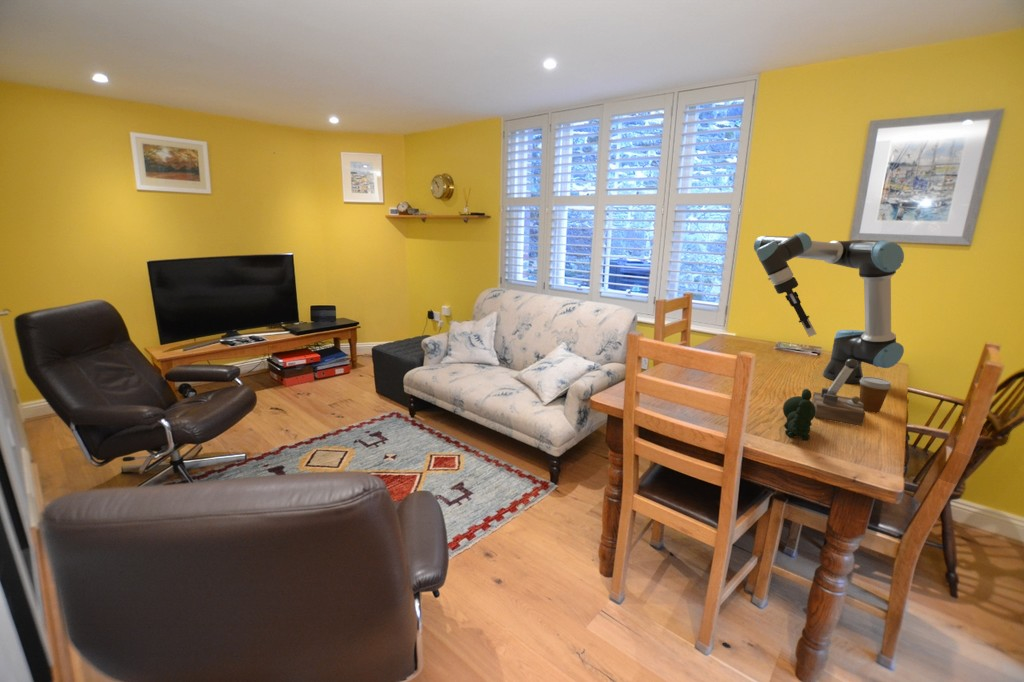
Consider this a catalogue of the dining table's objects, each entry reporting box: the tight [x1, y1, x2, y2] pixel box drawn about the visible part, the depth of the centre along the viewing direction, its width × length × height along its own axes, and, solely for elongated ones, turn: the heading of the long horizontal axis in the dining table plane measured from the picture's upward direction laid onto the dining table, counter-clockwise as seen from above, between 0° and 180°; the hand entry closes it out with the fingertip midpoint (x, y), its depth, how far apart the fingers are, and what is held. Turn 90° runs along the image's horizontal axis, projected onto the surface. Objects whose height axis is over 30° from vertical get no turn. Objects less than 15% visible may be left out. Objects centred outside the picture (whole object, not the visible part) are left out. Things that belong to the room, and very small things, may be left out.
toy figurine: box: [782, 388, 816, 442], centre depth 149 cm, size 9×19×25 cm
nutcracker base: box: [811, 387, 866, 427], centre depth 166 cm, size 16×14×8 cm
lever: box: [826, 359, 858, 395], centre depth 164 cm, size 4×4×17 cm
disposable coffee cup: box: [859, 376, 892, 414], centre depth 171 cm, size 10×10×12 cm
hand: (812, 334), depth 172 cm, fingers closed
